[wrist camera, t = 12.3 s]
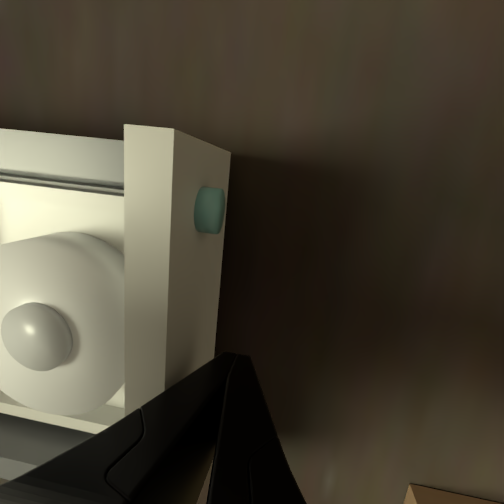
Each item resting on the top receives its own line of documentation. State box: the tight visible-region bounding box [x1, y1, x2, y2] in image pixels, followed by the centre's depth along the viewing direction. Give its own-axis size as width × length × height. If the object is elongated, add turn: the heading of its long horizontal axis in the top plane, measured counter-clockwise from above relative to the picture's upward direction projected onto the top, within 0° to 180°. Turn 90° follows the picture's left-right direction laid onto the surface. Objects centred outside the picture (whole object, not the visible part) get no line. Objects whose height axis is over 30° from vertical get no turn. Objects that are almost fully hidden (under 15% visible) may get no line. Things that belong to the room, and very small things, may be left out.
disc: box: [0, 232, 125, 415], centre depth 10 cm, size 6×6×2 cm
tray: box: [0, 124, 231, 434], centre depth 10 cm, size 12×13×5 cm
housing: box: [0, 128, 124, 480], centre depth 11 cm, size 12×13×4 cm
